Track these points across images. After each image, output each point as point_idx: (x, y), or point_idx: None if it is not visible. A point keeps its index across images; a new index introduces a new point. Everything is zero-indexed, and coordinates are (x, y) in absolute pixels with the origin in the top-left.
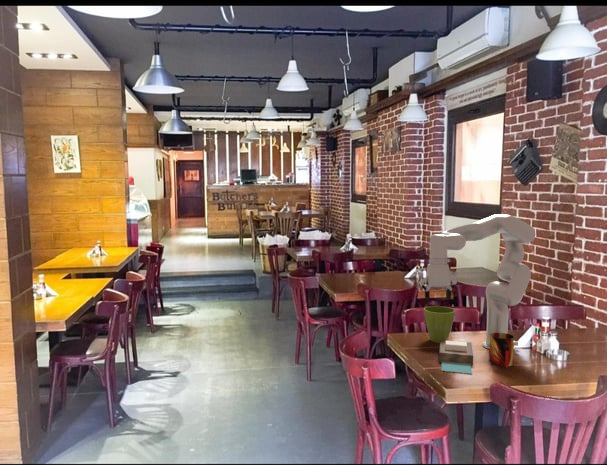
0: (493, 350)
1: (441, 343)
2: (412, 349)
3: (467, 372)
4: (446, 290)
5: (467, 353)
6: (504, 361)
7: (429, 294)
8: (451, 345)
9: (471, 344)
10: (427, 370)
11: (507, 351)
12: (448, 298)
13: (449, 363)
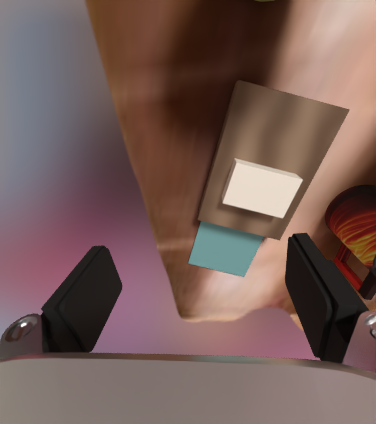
0: (346, 242)
1: (228, 131)
2: (141, 107)
3: (237, 272)
4: (323, 303)
5: (271, 225)
6: (347, 251)
7: (103, 326)
8: (238, 206)
9: (334, 137)
10: (162, 257)
11: (359, 290)
12: (286, 285)
13: (217, 228)
